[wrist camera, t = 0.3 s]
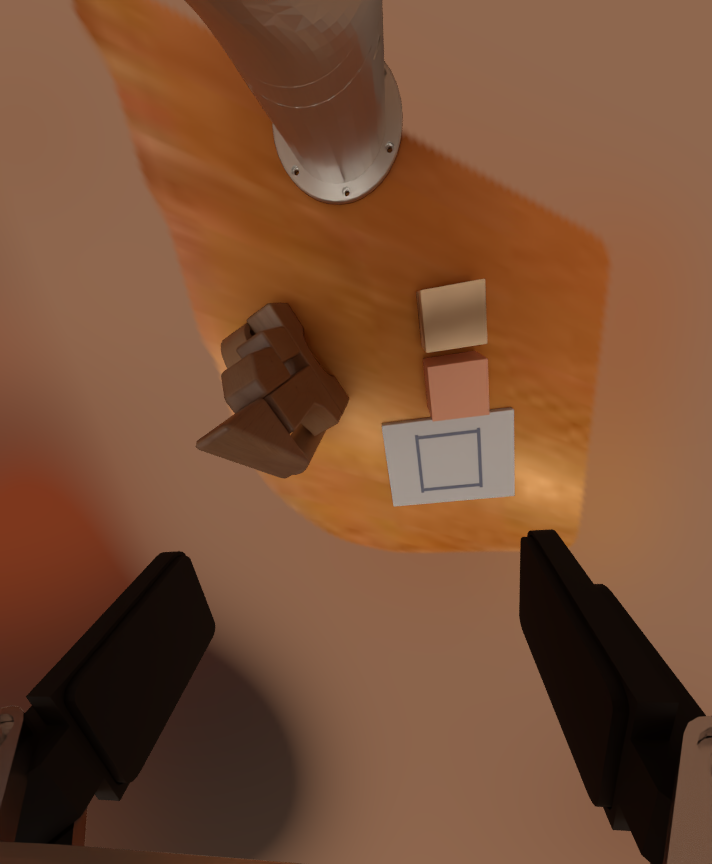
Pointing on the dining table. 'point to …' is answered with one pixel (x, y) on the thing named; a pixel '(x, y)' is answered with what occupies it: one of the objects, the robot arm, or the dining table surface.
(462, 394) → the rust block
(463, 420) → the board
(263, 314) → the wooden toy
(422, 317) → the birch block
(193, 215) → the dining table surface
